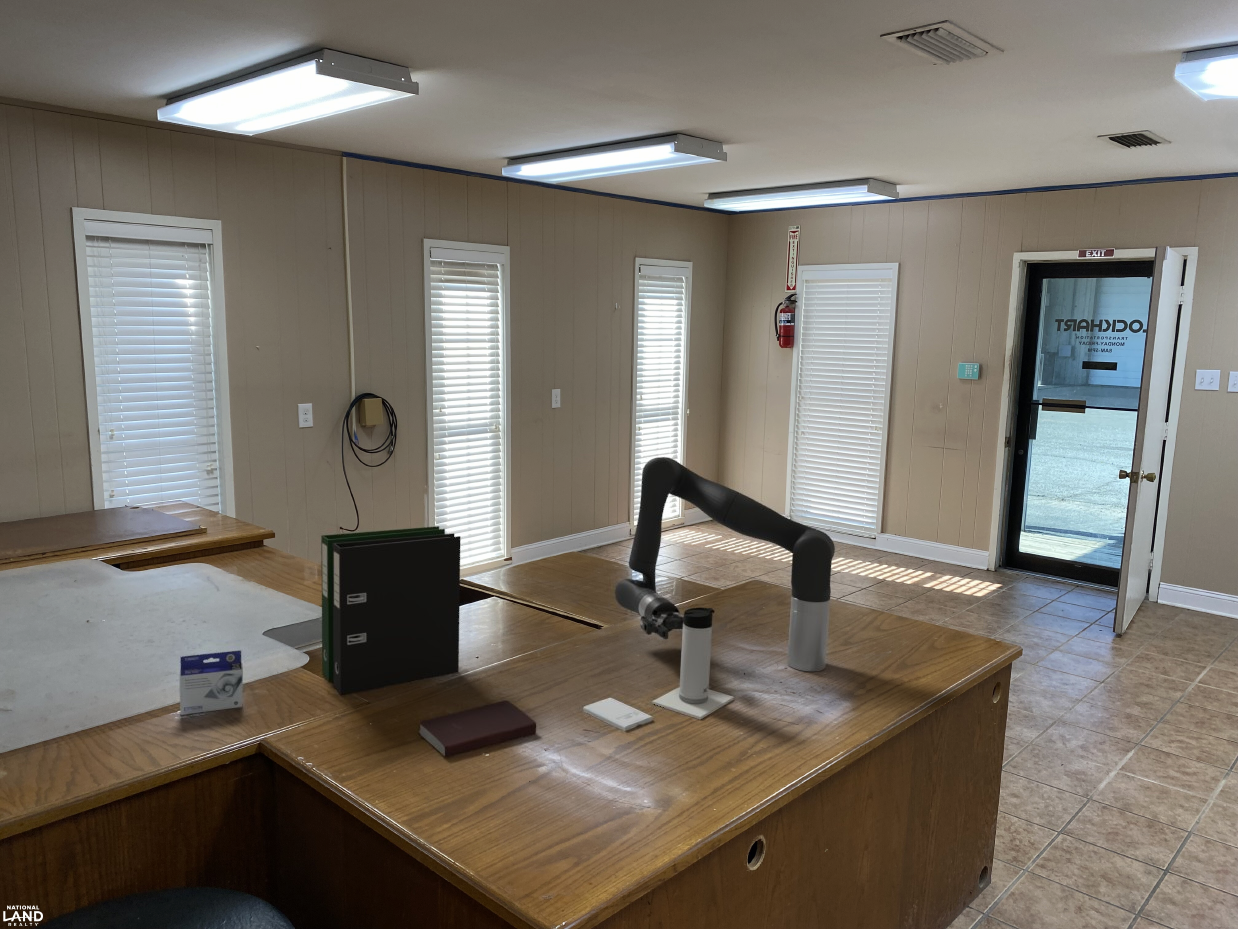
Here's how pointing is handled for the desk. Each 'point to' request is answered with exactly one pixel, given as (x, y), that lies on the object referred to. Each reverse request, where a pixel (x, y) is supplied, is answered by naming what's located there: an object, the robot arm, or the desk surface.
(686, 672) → the travel mug
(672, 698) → the white square pad
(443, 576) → the ring binders
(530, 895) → the desk surface
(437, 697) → the desk surface
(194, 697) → the ink box
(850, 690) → the desk surface
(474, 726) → the book
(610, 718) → the external hard drive
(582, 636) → the desk surface
